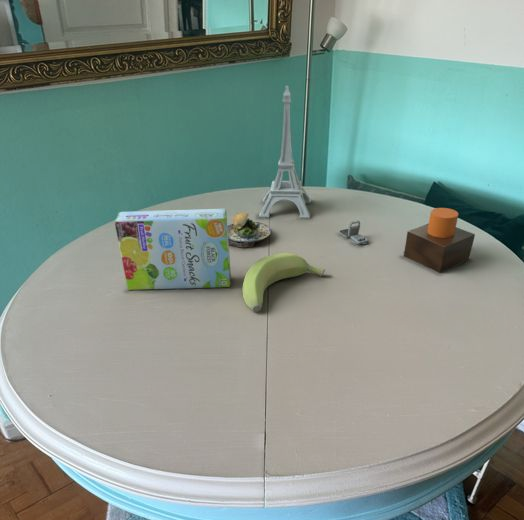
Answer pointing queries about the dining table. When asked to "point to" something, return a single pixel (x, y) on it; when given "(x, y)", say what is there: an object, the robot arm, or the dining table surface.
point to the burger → (246, 231)
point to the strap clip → (354, 234)
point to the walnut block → (438, 248)
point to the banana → (272, 275)
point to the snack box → (174, 248)
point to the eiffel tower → (286, 163)
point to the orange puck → (442, 222)
